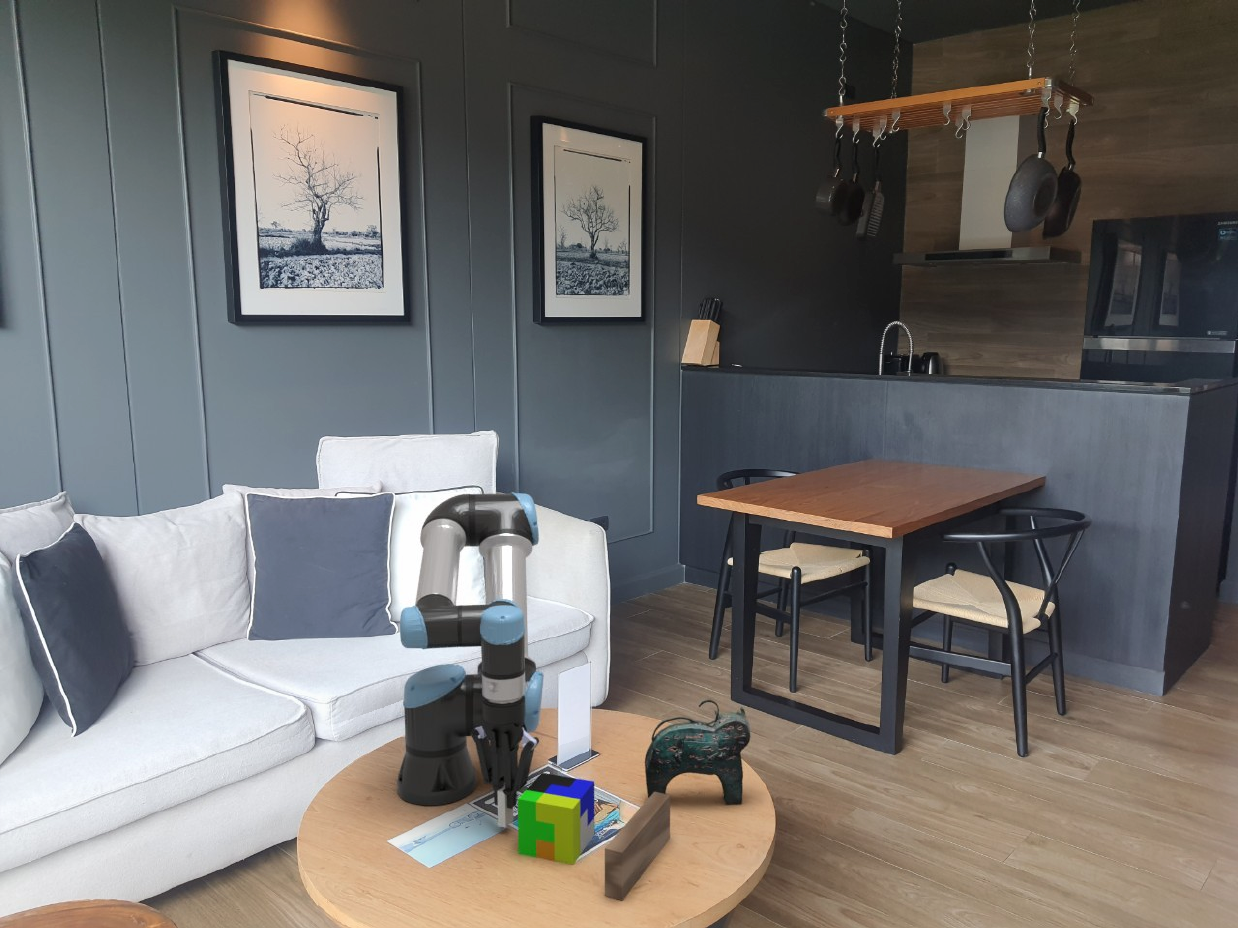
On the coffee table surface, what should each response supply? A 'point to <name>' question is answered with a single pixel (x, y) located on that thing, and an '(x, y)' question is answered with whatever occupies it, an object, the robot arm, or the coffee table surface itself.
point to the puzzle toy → (556, 818)
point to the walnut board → (636, 845)
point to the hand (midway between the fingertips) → (505, 822)
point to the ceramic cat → (700, 752)
